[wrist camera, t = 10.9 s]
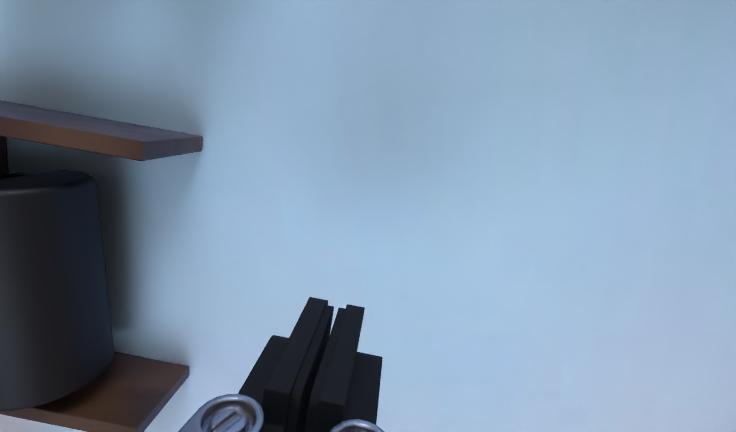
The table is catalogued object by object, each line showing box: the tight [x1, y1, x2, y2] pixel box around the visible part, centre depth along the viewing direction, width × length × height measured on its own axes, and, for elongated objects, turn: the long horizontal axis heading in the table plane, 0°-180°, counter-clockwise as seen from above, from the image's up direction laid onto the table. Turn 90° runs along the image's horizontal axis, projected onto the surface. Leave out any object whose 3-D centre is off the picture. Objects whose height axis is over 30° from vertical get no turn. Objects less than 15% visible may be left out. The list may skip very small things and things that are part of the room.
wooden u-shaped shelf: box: [0, 101, 203, 432], centre depth 20 cm, size 12×15×5 cm
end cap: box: [0, 170, 114, 412], centre depth 19 cm, size 10×7×7 cm
